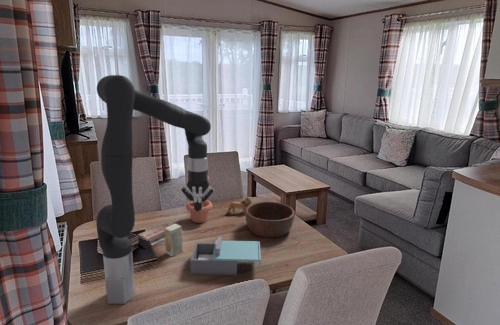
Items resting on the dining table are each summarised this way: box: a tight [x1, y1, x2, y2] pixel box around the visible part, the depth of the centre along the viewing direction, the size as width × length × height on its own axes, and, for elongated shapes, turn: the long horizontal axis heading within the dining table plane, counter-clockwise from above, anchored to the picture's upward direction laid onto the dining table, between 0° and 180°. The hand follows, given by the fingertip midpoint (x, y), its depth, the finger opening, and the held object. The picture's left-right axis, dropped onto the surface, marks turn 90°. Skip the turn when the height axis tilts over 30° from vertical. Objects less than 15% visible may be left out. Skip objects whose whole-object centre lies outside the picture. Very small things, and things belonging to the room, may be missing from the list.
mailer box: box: [190, 242, 239, 276], centre depth 139 cm, size 14×18×6 cm
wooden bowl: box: [244, 201, 296, 239], centre depth 171 cm, size 25×25×10 cm
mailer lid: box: [212, 236, 262, 266], centre depth 137 cm, size 15×19×5 cm
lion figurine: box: [226, 196, 253, 215], centre depth 190 cm, size 15×5×9 cm, turn 107°
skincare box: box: [164, 223, 184, 257], centre depth 146 cm, size 6×4×12 cm
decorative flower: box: [185, 175, 213, 224], centre depth 176 cm, size 15×14×30 cm
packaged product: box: [137, 223, 171, 246], centre depth 159 cm, size 18×5×10 cm
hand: (198, 210), depth 133 cm, fingers closed
